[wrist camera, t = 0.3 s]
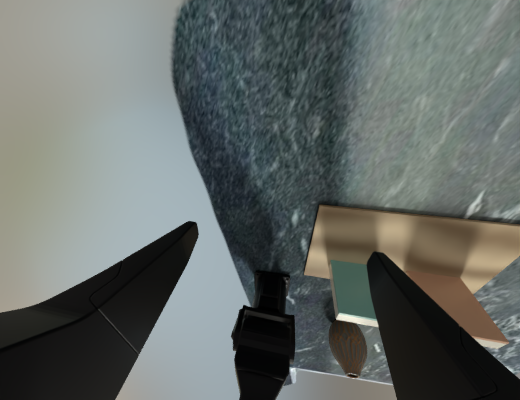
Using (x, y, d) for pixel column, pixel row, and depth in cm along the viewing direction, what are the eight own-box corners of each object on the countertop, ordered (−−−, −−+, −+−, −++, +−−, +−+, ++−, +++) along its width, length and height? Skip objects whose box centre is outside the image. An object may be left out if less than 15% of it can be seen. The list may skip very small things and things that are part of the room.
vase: (359, 314, 38) (372, 370, 31) (363, 330, 41) (376, 384, 34) (323, 315, 41) (328, 367, 34) (330, 330, 44) (336, 380, 37)
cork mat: (464, 296, 30) (466, 299, 30) (304, 272, 34) (304, 274, 33) (547, 227, 21) (551, 229, 21) (319, 204, 25) (319, 206, 25)
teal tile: (374, 273, 30) (394, 330, 24) (328, 266, 31) (335, 319, 25) (378, 266, 29) (400, 323, 23) (330, 259, 30) (339, 312, 24)
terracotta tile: (452, 284, 28) (497, 348, 22) (402, 277, 29) (430, 336, 23) (460, 277, 27) (509, 342, 21) (407, 270, 28) (438, 330, 22)
